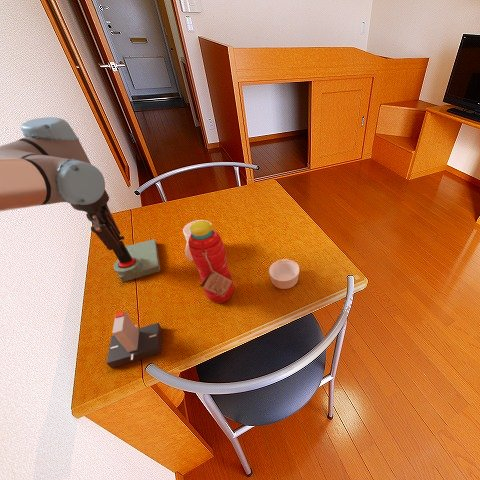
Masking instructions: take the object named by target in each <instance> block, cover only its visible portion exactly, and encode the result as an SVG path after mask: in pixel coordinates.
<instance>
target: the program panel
mask: <svg viewBox="0 0 480 480" xmlns="http://www.w3.org/2000/svg"><path fill="white" fill-rule="evenodd" d="M134 325H135V326H136V328H137V329H138V330H139V338H138V348H137V350H135V351H132V352H128V351H127V350H126V349H125V348H124V347H123V345H122V344H121V343H120V342H119V341H118V340H117V338H116V337H115V336H114V335H113V334H112V335H111V337H110V343H109V346H108V347H109V349H108V352H107V353H108V354H107V359H106V364H107V366H109V367H110V368H111V369H114V368H117V367H121V366H125V365H127V364H131V363H134V362H137V361H140V360H144V359H147V358H150V357H154V356H156V355H159V354H162V339H163V338H162V337H163V336H162V335H163V334H162V333H163V327H162V326H161V325H160V323H159V322H157V323H153V324H149V325H146V326H142V327H138V326H137V324H134Z"/></svg>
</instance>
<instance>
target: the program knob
mask: <svg viewBox="0 0 480 480" xmlns="http://www.w3.org/2000/svg"><path fill="white" fill-rule="evenodd" d="M135 325H136V324H135V323H134V322H133V320H132V319H131V317H130V316H129V315H128V313H127V311H121V312H118V313H115V315H114V321H113V327H112V332H111V333H112V336H113V335H114V336H115V337H116V338H117V340H118V341H119V342H120V343H121V344H122V345H123V347H124V348H125V349H126V350H127V351H128V352H132V351H135V350H137V348H138V338H139V330H138V327H136V326H135Z"/></svg>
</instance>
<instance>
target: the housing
mask: <svg viewBox="0 0 480 480" xmlns="http://www.w3.org/2000/svg"><path fill="white" fill-rule="evenodd" d="M125 247H126V248H127V250H128V252H129V254H130V255H131V257H133V258H134V259H135V261H136V263H135V264H134V265H133V266H131V267H128V268H121V267H120V266H119V260H118V259H117V260H116V261H115V262H114V264H113V270H114V271H115V273H116V274H117V275H118V276H119V279H120V280H121V282H122V283H124V282H128V281H131V280H135V279H139V278H142V277H145V276H148V275H152V274H155V273H158V272H161V264H160V257H159V249H158V248H159V247H158V242H157V241H156V239H155V238H153V239H149V240H145V241H141V242H137V243H133V244H128V245H125Z"/></svg>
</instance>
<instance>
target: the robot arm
mask: <svg viewBox="0 0 480 480" xmlns="http://www.w3.org/2000/svg"><path fill="white" fill-rule="evenodd" d="M20 130H21V133H22V135H23V136H24V137H22V138H19V139H17V140H15V141H11V142H9V143H6V144H5V143H4V144H2V145H0V213H2V212H7V211H8V212H9V211H15V210H20V209H27V208H33V207H39V206H48V205H55V204H60V203H67V204H70V206H71V207H72V208H73V210H75V211H79V212H85V216H86V218H87V220H88V221H89V222H91V224H92V226H90V231H91V232H92V233H94V234H95V235H96V236H97V237H98V238H99V240H100V241H101V242H102V244H103V245H104V246H105V247H106V249H107V250H108V251H113V253H114V255H115V256H116V258H117V260H119V261H120V263H125V262H129V261H132V257H131V255H130V254H129V252H128V250H127V248H126V247H125V246H126V245H125V243H124V241H123V240H125V236H124V235H121V231H120V229H119V227H118V225H117V223H116V220H115V219H114V217H113V214H112V213H111V210H110V208H109V205H108V203H109V200H110V196H109V194H108V192H107V190H106V181H105V177H104V175H103V173H102V172H101V170H100V169H98V167H96V166H95V165H93V164H92V162H91V160H90V158H89V157H88V155H87V154H86V152H85V149H84V147H83V145H82V143H81V141H80V138H79V137H78V136H77V135H76V133H75V131H74V130H73V128H72V126H71V125H70V123H69V122H68V121H66V119H63V118H61V117H55V116H45V117H37V118H33V119H29V120H26V121H24V122H23V123H21V124H20Z"/></svg>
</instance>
